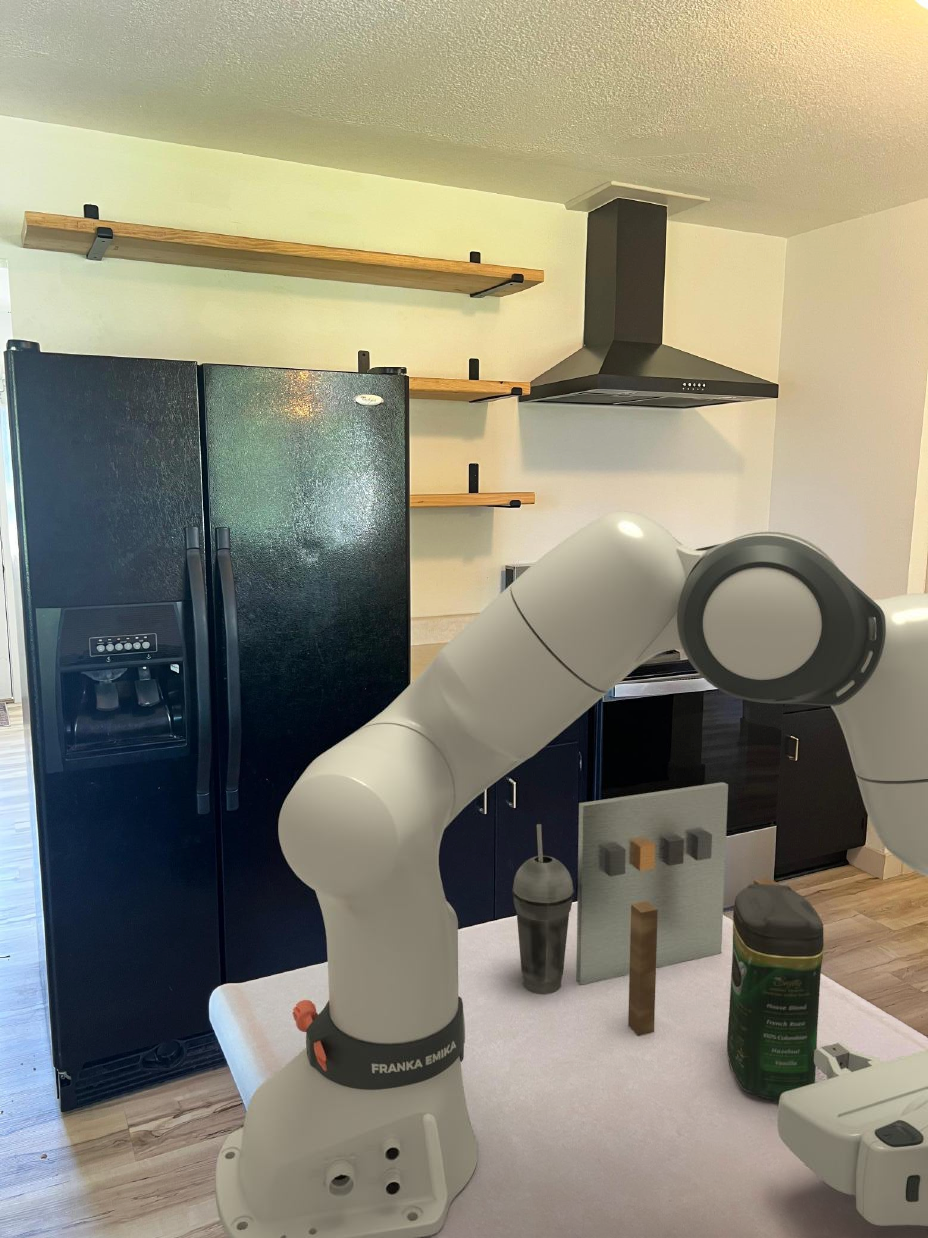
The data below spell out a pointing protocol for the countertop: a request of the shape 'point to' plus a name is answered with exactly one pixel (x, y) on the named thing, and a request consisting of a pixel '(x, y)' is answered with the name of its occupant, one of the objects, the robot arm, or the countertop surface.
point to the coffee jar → (774, 990)
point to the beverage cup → (542, 919)
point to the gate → (646, 965)
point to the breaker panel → (650, 876)
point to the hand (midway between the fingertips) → (826, 1052)
